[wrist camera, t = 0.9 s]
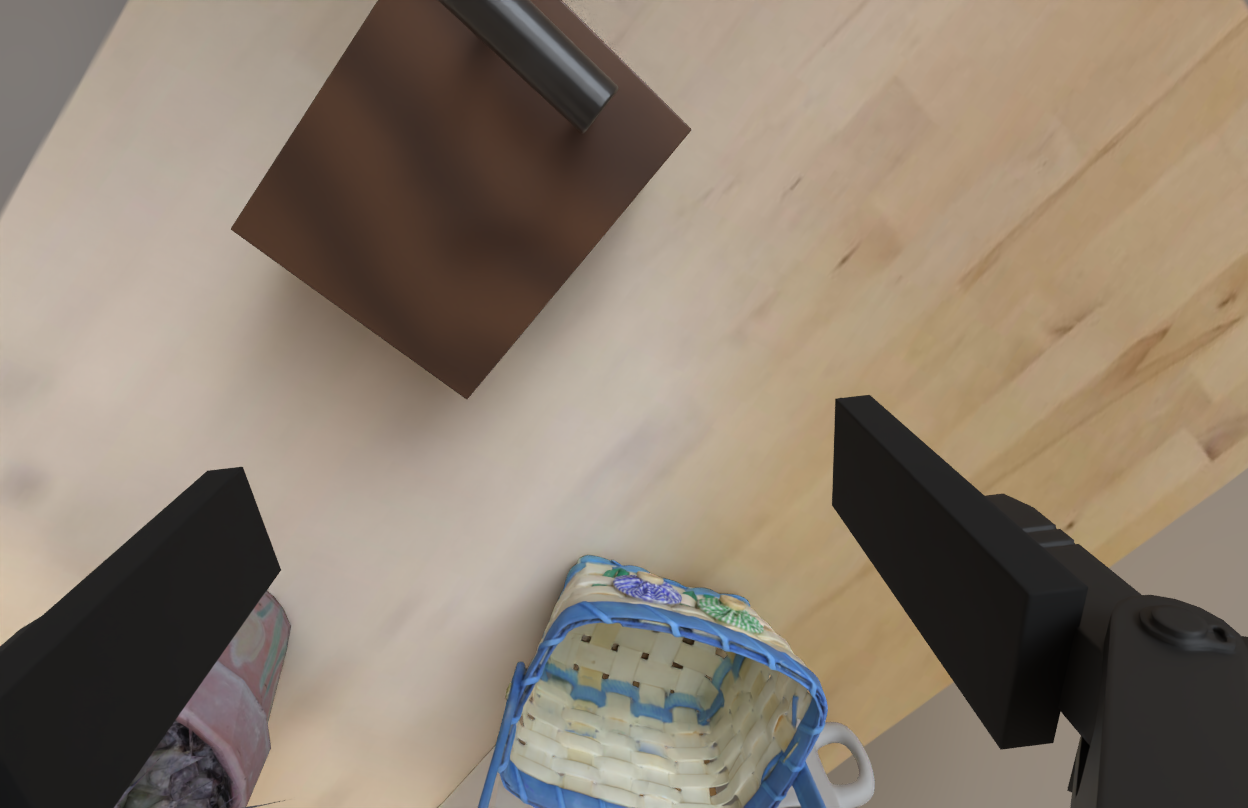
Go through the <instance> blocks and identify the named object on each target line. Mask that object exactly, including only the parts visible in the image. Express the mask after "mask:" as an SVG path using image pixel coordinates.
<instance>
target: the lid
mask: <svg viewBox="0 0 1248 808" xmlns="http://www.w3.org/2000/svg"><path fill="white" fill-rule="evenodd" d="M690 131H691V128H690V127H689V126H688V125H687V124H686V123H685V122H684V121H683V120H682V119H681V118H680V117H679V116H678V115H677V114H676V113H675V112H674V111H673V110H672V109H671V108H670V107H669V106H668V105H667V104H666V103H665V102H664V101H663V100H662V99H660V98H659V97H658V96H657V95H656V94H655V93H654V92H653V91H652V90H651V89H650V88H649V87H648V86H647V85H646V84H645V83H644V82H643V81H642V80H641V79H640V78H639V77H638V76H637V75H636V74H635V73H634V72H633V71H632V70H631V69H630V68H629V67H628V66H627V65H626V64H625V63H624V62H623V61H622V60H621V59H620V58H619V57H618V56H617V55H616V54H615V53H614V52H613V51H612V50H611V49H610V48H609V47H608V46H607V45H606V44H605V43H604V42H603V41H602V40H601V39H600V38H599V37H598V36H597V35H596V34H595V33H594V32H593V31H592V30H591V29H590V28H589V27H588V26H587V25H586V24H585V23H584V22H583V21H582V20H581V19H580V18H579V17H578V16H577V15H576V14H575V13H574V12H573V11H572V10H571V9H570V8H569V7H568V6H567V5H566V4H565V3H564V2H563V1H562V0H378V1H377V3H376V4H375V6H374V7H373V9H372V10H371V12H370V14H369V15H368V17H367V18H366V20H365V21H364V23H363V24H362V26H361V28H360V29H359V31H358V32H357V34H356V35H355V37H354V38H353V40H352V41H351V43H350V45H349V46H348V48H347V49H346V51H345V52H344V54H343V55H342V57H341V59H340V60H339V62H338V63H337V65H336V66H335V68H334V69H333V71H332V72H331V74H330V76H329V77H328V79H327V80H326V82H325V83H324V85H323V86H322V88H321V90H320V91H319V93H318V94H317V96H316V97H315V99H314V100H313V102H312V104H311V105H310V107H309V108H308V110H307V111H306V113H305V114H304V116H303V117H302V119H301V121H300V122H299V124H298V125H297V127H296V128H295V130H294V131H293V133H292V135H291V136H290V138H289V139H288V141H287V142H286V144H285V145H284V147H283V148H282V150H281V152H280V153H279V155H278V156H277V158H276V159H275V161H274V162H273V164H272V166H271V167H270V169H269V170H268V172H267V173H266V175H265V176H264V178H263V179H262V181H261V183H260V184H259V186H258V187H257V189H256V190H255V192H254V193H253V195H252V197H251V198H250V200H249V201H248V203H247V204H246V206H245V207H244V209H243V211H242V212H241V214H240V215H239V217H238V218H237V220H236V221H235V223H234V224H233V226H232V228H231V230H232V231H234V232H235V233H236V234H238V235H239V236H241V237H242V238H243V239H245V240H246V241H248V242H249V243H250V244H252V245H253V246H255V247H256V248H257V249H259V250H260V251H261V252H263V253H264V254H266V255H267V256H268V257H270V258H271V259H273V260H274V261H275V262H277V263H278V264H280V265H281V266H282V267H284V268H285V269H286V270H288V271H289V272H291V273H292V274H293V275H295V276H296V277H298V278H299V279H300V280H302V281H303V282H304V283H306V284H307V285H309V286H310V287H311V288H313V289H314V290H316V291H317V292H318V293H320V294H321V295H323V296H324V297H325V298H327V299H328V300H329V301H331V302H332V303H334V304H335V305H336V306H338V307H339V308H341V309H342V310H343V311H345V312H346V313H348V314H349V315H350V316H352V317H353V318H354V319H356V320H357V321H359V322H360V323H361V324H363V325H364V326H366V327H367V328H368V329H370V330H371V331H373V332H374V333H375V334H377V335H378V336H379V337H381V338H382V339H384V340H385V341H386V342H388V343H389V344H391V345H392V346H393V347H395V348H396V349H398V350H399V351H400V352H402V353H403V354H404V355H406V356H407V357H409V358H410V359H411V360H413V361H414V362H416V363H417V364H418V365H420V366H421V367H423V368H424V369H425V370H427V371H428V372H429V373H431V374H432V375H434V376H435V377H436V378H438V379H439V380H441V381H442V382H443V383H445V384H446V385H447V386H449V387H450V388H452V389H453V390H454V391H456V392H457V393H459V394H460V395H461V396H463V397H464V398H466V399H468V398H469V397H470V396H471V394H472V393H473V392H474V391H475V390H476V388H477V387H478V386H479V385H480V384H481V382H482V381H483V380H484V379H485V378H486V376H487V375H488V374H489V373H490V372H491V370H492V369H493V368H494V367H495V366H496V364H497V363H498V362H499V361H500V360H501V358H502V357H503V356H504V355H505V354H506V352H507V351H508V350H509V349H510V347H511V346H512V345H513V344H514V343H515V341H516V340H517V339H518V338H519V337H520V335H521V334H522V333H523V332H524V331H525V329H526V328H527V327H528V326H529V325H530V323H531V322H532V321H533V320H534V319H535V317H536V316H537V315H538V314H539V313H540V311H541V310H542V309H543V308H544V307H545V305H546V304H547V303H548V302H549V301H550V299H551V298H552V297H553V296H554V295H555V293H556V292H557V291H558V290H559V289H560V287H561V286H562V285H563V284H564V283H565V281H566V280H567V279H568V278H569V277H570V275H571V274H572V273H573V272H574V271H575V269H576V268H577V267H578V266H579V265H580V263H581V262H582V261H583V260H584V259H585V257H586V256H587V255H588V254H589V253H590V251H591V250H592V249H593V248H594V247H595V245H596V244H597V243H598V242H599V241H600V239H601V238H602V237H603V236H604V235H605V233H606V232H607V231H608V230H609V229H610V227H611V226H612V225H613V224H614V223H615V221H616V220H617V219H618V218H619V217H620V215H621V214H622V213H623V212H624V210H625V209H626V208H627V207H628V206H629V204H630V203H631V202H632V201H633V200H634V198H635V197H636V196H637V195H638V194H639V192H640V191H641V190H642V189H643V188H644V186H645V185H646V184H647V183H648V182H649V180H650V179H651V178H652V177H653V176H654V174H655V173H656V172H657V171H658V170H659V168H660V167H661V166H662V165H663V164H664V162H665V161H666V160H667V159H668V158H669V156H670V155H671V154H672V153H673V152H674V150H675V149H676V148H677V147H678V146H679V144H680V143H681V142H682V141H683V140H684V138H685V137H686V136H687V135H688V134H689V132H690Z"/></svg>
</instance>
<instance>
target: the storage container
mask: <svg viewBox="0 0 1248 808" xmlns="http://www.w3.org/2000/svg"><path fill="white" fill-rule="evenodd" d="M524 746H525V745H524ZM512 748H513V746H512ZM494 749H495V747H494V748H493V749H492V750H491V751H490V752H489V753H488V754H487V755H486V756H485V757H484V758H483V760H482V761H481V762H480V763H479V764H478V765H477V766H476V767H475V768H474V769H473V770H472V772H471V773H470V774H469V775H468V776H467V777H466V778H465V779H464V780H463V781H462V782H461V783H460V785H459V786H458V787H457V788H456V789H455V790H454V791H453V792H452V793H451V794H450V795H449V797H448V798H447V799H446V800H445V801H444V802H443V803H442V804H441V805H440V806H439V807H438V808H478V804H479V801H480V797H481V794H482V790H483V787H484V783H485V780H486V776H487V773H488V770H489V766H490V763H491V759H492V756H493V753H494ZM512 750H513V749H512ZM558 774H559V775H561V776H565V775H564V773H563V774H562V773H558ZM593 783H594V784H596V783H595V782H593ZM488 808H534V807H533V806H531V805H528V804H525V803H523V802H522V801H521V800H520V799H519V798H517V797H516V796H514V795H513V794H512V793H510V792H509V791H508V790H506V789H505V788H504V786H503V783H502V780H501V777H500V774H499V773H498V772H497V775H496V779H495V783H494V787H493V791H492V794H491V798H490V802H489V806H488Z"/></svg>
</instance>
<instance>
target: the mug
mask: <svg viewBox="0 0 1248 808" xmlns="http://www.w3.org/2000/svg"><path fill="white" fill-rule="evenodd" d="M785 714H787V713H785ZM707 721H708V722H709V721H710V719H708V720H707ZM799 723H800V720H799V718H798V720H797V726H796V730H797V727H798V725H799ZM705 734H706V733H704V734H703V735H705ZM773 739H774V737H773ZM830 743H841V744H843V745H845V746H846V747H847V748H848V749H849V750H850V751H851V753H852V754H853V756H854V757H855V759H856V761H857V764H858V768H859V777H858V778H857V780H856V781H855V782H852V783H849V784H845V785H835V784H832V783H830V781H829V779H828V778H827V776H826V773H825V771H824V768H823V766H822V763H821V761H820V758H819V755H818V753H817V751H818V749H819V748H821V747H822V746H824V745H827V744H830ZM713 745H714V746H716V745H717V743H716V742H715V743H714V744H713ZM714 760H715V759H714ZM714 760H710V762H712V761H714ZM806 763H807V765H808V768H809V770H810V772H811V774H812V777H813V779H814V781H815V783H816V786H817V788H818V790H819V792H820V795H821V797H822V799H823V801H824V803H825V806H826V808H857V807H859V806H861V805H863V804H865V803H866V802H868V801H869V800H870V798H871V797H872V796H873V793H874V787H875V780H874V773H873V770H872V766H871V763H870V761H869V758H868V756H867V753H866V751H865V749H864V747H863V745H862V744H861V742H860V741H859V739H858V738H857V736H856V735H855V734H854V733H853V732H852V731H851V730H850V729H849V728H848V727H847V726H845V725H843V724H841V723H837V722H825V726H824V728H823V731H822V732H821V733H820V735H819V737H818V739H817V741H816V743H815V745H814V747H813V749H812V751H811V752H810V754H809V756H808V757H807V759H806ZM725 770H727V767H726V766H725V767H724V768H723V769H722V770H721V771H720V772H719V774H720V773H722V772H723V771H725ZM753 773H754V772H753ZM728 784H729V783H727V784H725V785H722V786H719V787H715V789H716V794H717V793H718V792H721V791H722V790H723V789H725V788H726V787H727V785H728ZM737 799H738V796H737V795H735V796H734V797H733V799H732V800H731V801H729V802H727V803H726V804H724V805H722V806H725V805H731V804H733V803H734V802H735V801H736V800H737ZM777 808H801V805H800V803H799V801H798V798H797V795H796V793H795V790H794V788H793V786H791V787H790V789H789V790H788V792H787V795H786V797H785V798H784V799H783V800H782V801H781V803H780V804H779V806H778V807H777Z"/></svg>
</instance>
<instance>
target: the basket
mask: <svg viewBox="0 0 1248 808" xmlns="http://www.w3.org/2000/svg"><path fill="white" fill-rule="evenodd" d="M652 631H659V632H658V633H657V632H652ZM583 635H586V636H591V639H590V641H589V643H587V642H585V641H582V636H583ZM572 637H573V638H572ZM684 637H685V638H689V639H692V640H694V641H695V642H694V644H693V645H692V646H691V645H689V644H687V643H684V642H682V640H683V638H684ZM614 643H616V644H619V647H618V650H617V651H614V650H612V646H613V644H614ZM716 648H720V649H721V650H723V651H724V652H726V654H727V656H726V657H725V658H722V657H721V656H719V655H715V653H716ZM643 652H644V653H648V654H650V655H649V657H648V659H647V660H645V659H643V658H641V656H642V654H643ZM672 662H675V663H677V664H679V665H681V666H683V668H682V669H680V668H675V667H672ZM574 664H576V665H577V664H578V666H579V668H578V671H576V670H574V669H573V668H574ZM603 673H605V674H609V677H608V679H602V676H603ZM770 674H771V677H770V679H769V675H770ZM705 675H707V676H709V677H710V678H711V679H712V681H710V679H709V678H707V677H706V676H705ZM633 681H636V682H639V683H640V685H639V687H636V686H633ZM720 688H721V690H720ZM670 690H674V693H673V694H672V693H670ZM807 690H809V692H810V694H811V695H812V696H811V695H810V694H809V693H808V692H807ZM530 697H532V701H530ZM505 698H506V700H507V702H506V707H505V711H504V715H503V719H502V723H501V727H500V731H499V735H498V738H497V742H496V745H495V749H494V753H493V756H492V759H491V763H490V766H489V770H488V773H487V776H486V780H485V783H484V787H483V790H482V794H481V797H480V801H479V804H478V808H488V806H489V802H490V798H491V794H492V791H493V787H494V783H495V779H496V775H497V772H498V773H499V774H500V777H501V780H502V783H503V786H504V788H505V789H506V790H508V791H509V792H510V793H512V794H513V795H514V796H516V797H517V798H519V799H520V800H521V801H522V802H523V803H525V804H528V805H531V806H533V807H534V808H777V807H778V806H779V804H780V803H781V801H782V800H783V799H784V798H785V797H786V795H787V792H788V790H789V789H790V787H791V786H793V788H794V790H795V793H796V795H797V798H798V801H799V803H800V805H801V808H826V806H825V803H824V801H823V799H822V797H821V795H820V792H819V790H818V788H817V786H816V783H815V781H814V779H813V777H812V774H811V772H810V770H809V768H808V765H807V763H806V759H807V757H808V756H809V754H810V752H811V751H812V749H813V747H814V745H815V743H816V741H817V739H818V737H819V735H820V733H821V732H822V731H823V728H824V726H825V720H826V717H827V711H828V709H827V701H826V698H825V695H824V692H823V689H822V687H821V684H820V681H819V680H818V678H817V677H816V676H815V674H814V673H813V672H811V671H810V670H809V669H808V668H807V667H806V665H805V663H804V662H803V661H802V660H801V659H800V658H799V657H798V656H796V655H795V654H793V652H792V650H791V648H790V646H789V644H788V642H787V641H786V640H785V639H784V638H783V637H781V636H780V635H778V634H776V633H775V632H774V630H773V629H772V627H771V626H770V625H769V623H767V622H766V621H765V620H764V619H762V618H760V617H759V616H758V614H757V612H756V611H755V610H753V609H752V608H750V604H749V602H748V600H746V599H745V598H744V597H741V596H738V595H734V594H718V593H716V592H714V591H713V590H711V589H707V588H691V587H684V586H683V585H681V584H679V583H677V582H675V581H672V580H669V579H666V578H661V577H659V576H656V575H654V574H651V573H650V572H648V571H647V570H645V569H643V568H640V567H637V566H631V565H628V566H622V565H621V564H619V563H617V562H616V561H614V560H611V561H610V560H607V559H605V558H601V557H597V556H592V555H586V556H584V557H581V558H579V560H578V562H577V564H576V565H574V566H573V567H572V568H571V570H570V571H569V573H568V575H567V578H566V581H565V585H564V589H563V591H562V592H561V594H560V596H559V598H558V601H557V603H556V605H555V607H554V610H553V612H552V615H551V618H550V621H549V623H548V625H547V627H546V629H545V632H544V634H543V637H542V640H541V641H540V643H539V645H538V648H537V652H536V655H535V656H534V658H533V659H532V661H531V663H530V665H529V666H528V668H527V669H526V668H525V664H524V663H523V662H518V663H517V666H516V669H515V672H514V675H513V678H512V681H511V683H509V686H508V688H507V691H506V696H505ZM631 698H632V699H631ZM697 710H698V711H699V712H697ZM785 713H787V714H785ZM528 714H530V715H531V716H533V717H534V720H531V719H530V718H529V717H528ZM521 715H523V726H522V725H521V724H520V722H519V719H520V717H521ZM798 718H799V720H800V723H799V725H798V727H797V730H796V726H797V720H798ZM708 719H710V721H709V722H708V721H707V720H708ZM704 733H706V734H705V735H700V734H704ZM773 737H774V739H773ZM518 739H519V740H521V741H523V742H526V744H525V746H524V745H523V744H521V743H520V742H519V740H518ZM715 742H716V743H717V745H716V746H714V745H713V744H714V743H715ZM512 746H513V748H512ZM666 747H667V748H666ZM512 749H513V750H512ZM553 756H555V757H553ZM714 759H715V760H714ZM704 760H714V761H712V762H710V763H707V764H704ZM675 761H677V762H675ZM725 766H726V767H727V770H725V771H723V772H722V773H720V774H719V772H720V771H721V770H722V769H723V768H724V767H725ZM753 772H754V773H753ZM558 773H562V774H563V773H564V775H565V776H561V775H559V774H558ZM593 782H595V783H596V784H594V783H593ZM727 783H729V784H728V785H727V787H726V788H725V789H723V790H722V791H721V792H718V793H717V795H714V796H710V793H709V788H712V787H719V786H722V785H725V784H727ZM674 788H680V789H681V791H678V790H676V789H674ZM640 794H644V796H643V797H641V796H639V795H640ZM735 795H737V796H738V799H737V800H736V801H735V802H734V803H733V804H731V805H725V806H722V805H724V804H726V803H727V802H729V801H731V800H732V799H733V797H734V796H735ZM674 803H675V804H674Z"/></svg>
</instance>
